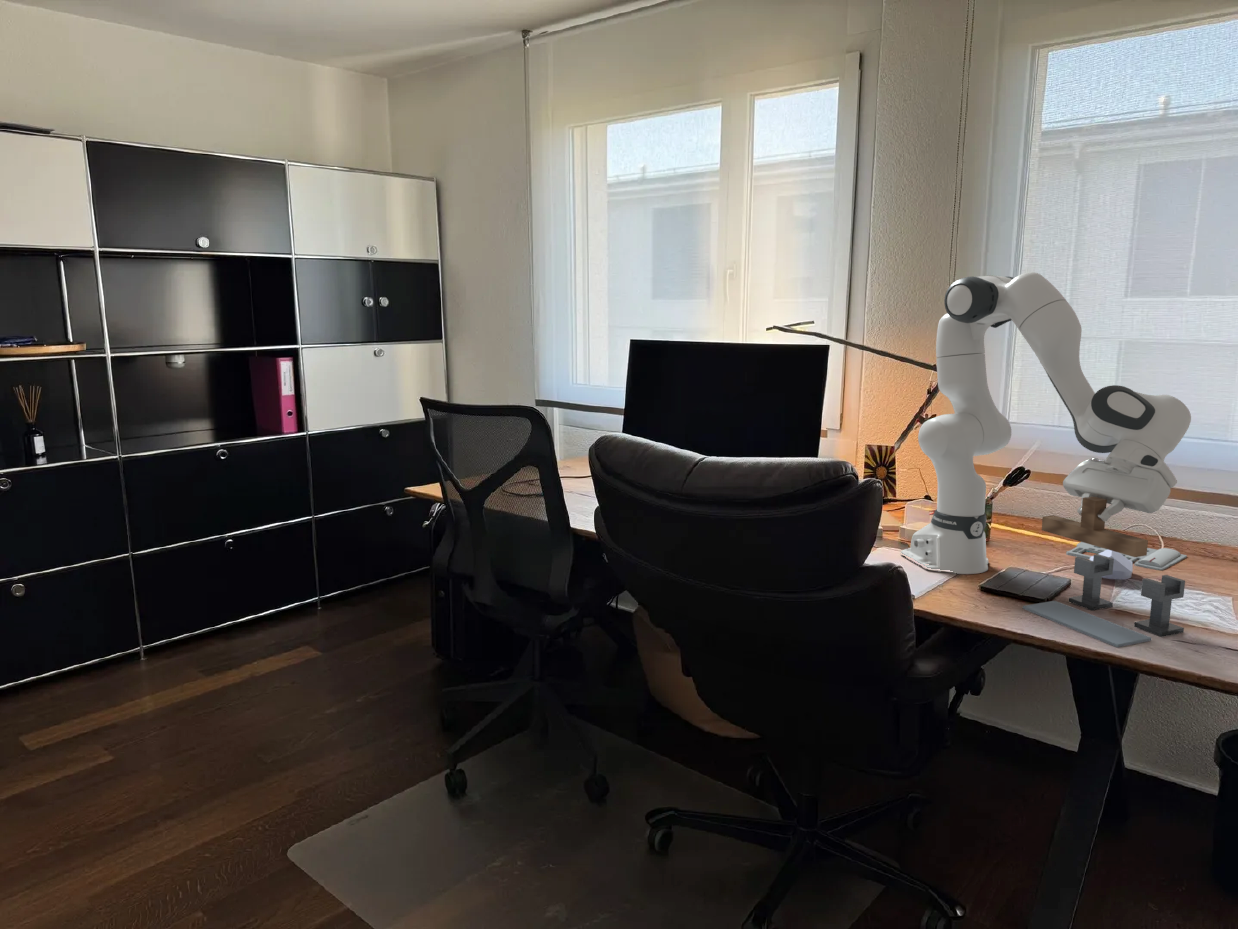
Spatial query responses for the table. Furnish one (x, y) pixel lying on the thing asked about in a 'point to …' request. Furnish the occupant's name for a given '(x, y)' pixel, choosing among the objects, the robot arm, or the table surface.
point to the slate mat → (1087, 624)
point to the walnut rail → (1095, 530)
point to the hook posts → (1150, 589)
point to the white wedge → (1118, 565)
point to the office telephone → (1152, 560)
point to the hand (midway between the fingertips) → (1090, 516)
